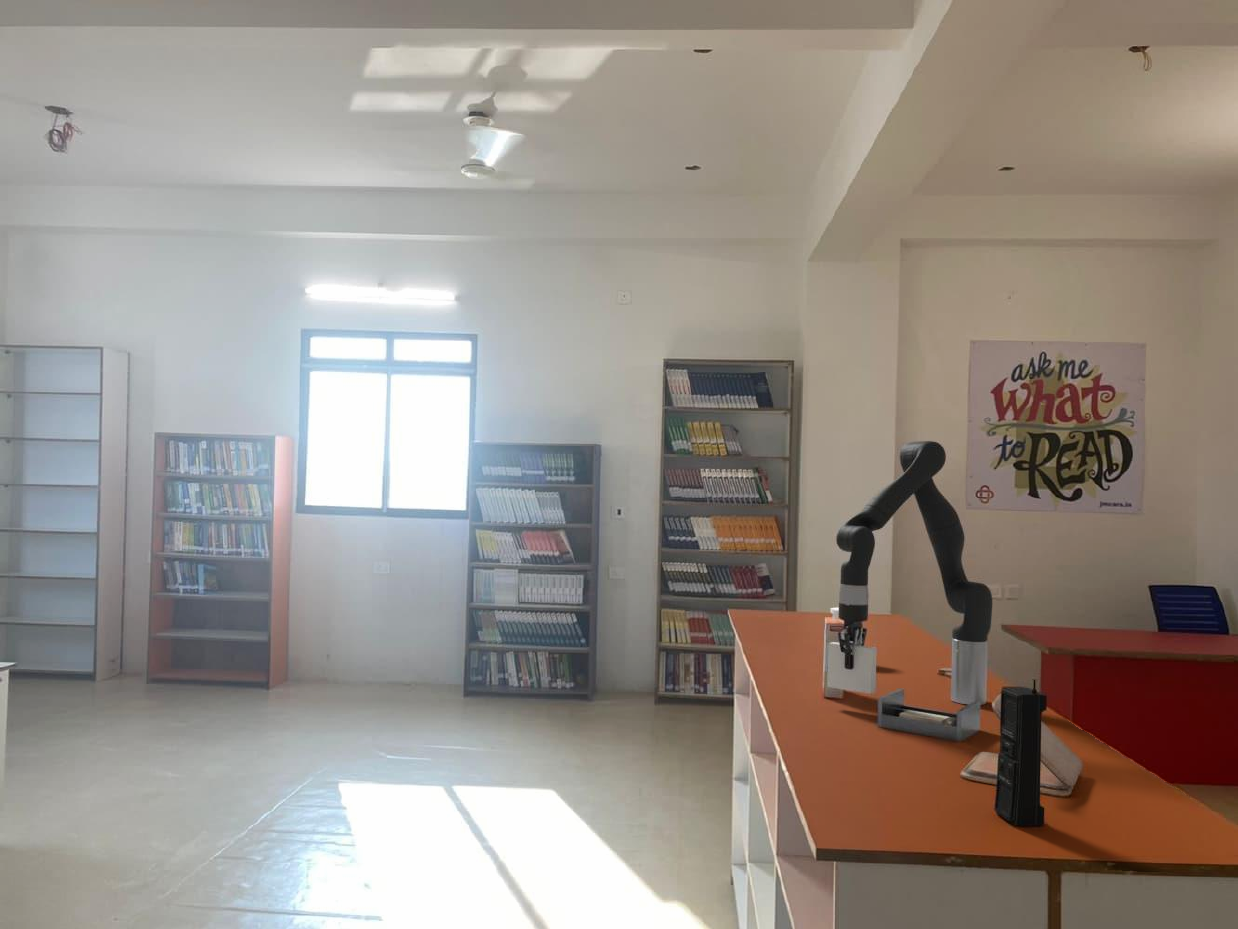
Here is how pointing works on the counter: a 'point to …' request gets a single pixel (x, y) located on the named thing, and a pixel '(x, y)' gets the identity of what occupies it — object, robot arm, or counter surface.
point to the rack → (959, 730)
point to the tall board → (856, 678)
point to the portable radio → (1020, 756)
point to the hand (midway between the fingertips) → (851, 667)
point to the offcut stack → (926, 717)
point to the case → (1055, 763)
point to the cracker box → (830, 635)
